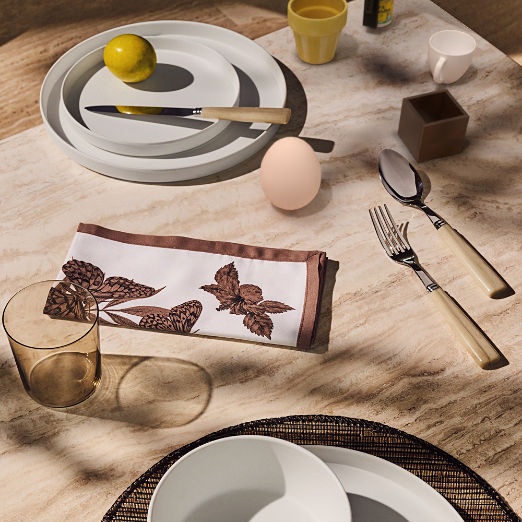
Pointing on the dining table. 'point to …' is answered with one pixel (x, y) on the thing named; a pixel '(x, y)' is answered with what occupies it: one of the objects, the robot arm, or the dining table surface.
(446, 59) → the cup
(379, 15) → the supplement bottle
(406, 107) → the brown square planter
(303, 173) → the egg
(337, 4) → the flower pot
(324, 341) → the dining table surface
